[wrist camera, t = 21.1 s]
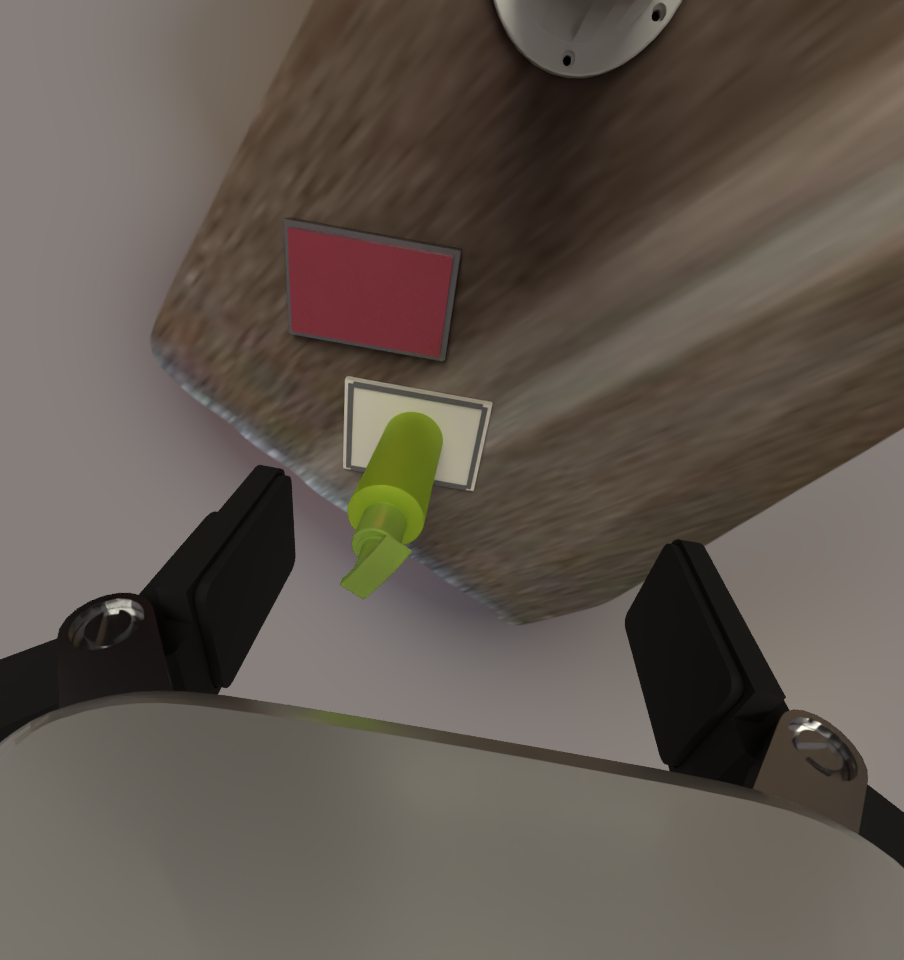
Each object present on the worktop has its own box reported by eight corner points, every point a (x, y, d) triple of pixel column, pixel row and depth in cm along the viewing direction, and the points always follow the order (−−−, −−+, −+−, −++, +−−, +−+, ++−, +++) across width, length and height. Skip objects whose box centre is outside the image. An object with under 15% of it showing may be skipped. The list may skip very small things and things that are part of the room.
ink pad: (289, 217, 37) (280, 219, 35) (461, 248, 37) (460, 251, 35) (294, 330, 42) (286, 335, 40) (445, 357, 42) (443, 364, 40)
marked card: (347, 376, 44) (344, 379, 43) (492, 402, 44) (492, 406, 43) (345, 464, 49) (342, 469, 49) (473, 486, 50) (473, 492, 49)
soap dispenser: (461, 429, 45) (437, 574, 28) (419, 474, 48) (374, 628, 31) (413, 391, 43) (357, 521, 26) (373, 440, 47) (300, 584, 30)
